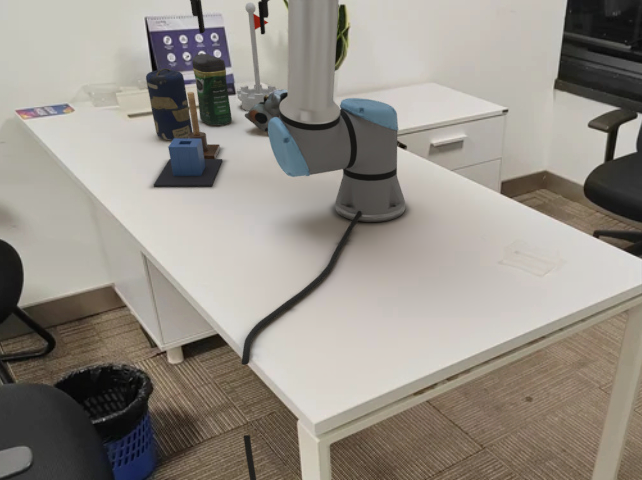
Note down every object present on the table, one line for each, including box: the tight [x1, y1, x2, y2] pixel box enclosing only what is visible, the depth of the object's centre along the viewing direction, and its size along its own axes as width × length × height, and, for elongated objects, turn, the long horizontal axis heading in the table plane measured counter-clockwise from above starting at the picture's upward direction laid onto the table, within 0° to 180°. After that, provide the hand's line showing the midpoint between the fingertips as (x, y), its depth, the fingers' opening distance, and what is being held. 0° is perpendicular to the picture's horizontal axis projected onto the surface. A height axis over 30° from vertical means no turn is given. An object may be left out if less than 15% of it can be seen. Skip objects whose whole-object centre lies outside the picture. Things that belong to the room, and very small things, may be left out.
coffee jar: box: [192, 53, 233, 126], centre depth 198 cm, size 10×8×19 cm
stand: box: [186, 91, 221, 159], centre depth 175 cm, size 9×9×16 cm
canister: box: [145, 68, 193, 141], centre depth 185 cm, size 10×10×18 cm
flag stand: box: [236, 2, 280, 112], centre depth 210 cm, size 13×13×30 cm
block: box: [167, 137, 205, 176], centre depth 165 cm, size 6×6×7 cm
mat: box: [153, 158, 223, 188], centre depth 167 cm, size 18×13×1 cm
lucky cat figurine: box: [244, 88, 288, 133], centre depth 196 cm, size 15×12×14 cm
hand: (232, 32), depth 157 cm, fingers open, 13 cm apart
